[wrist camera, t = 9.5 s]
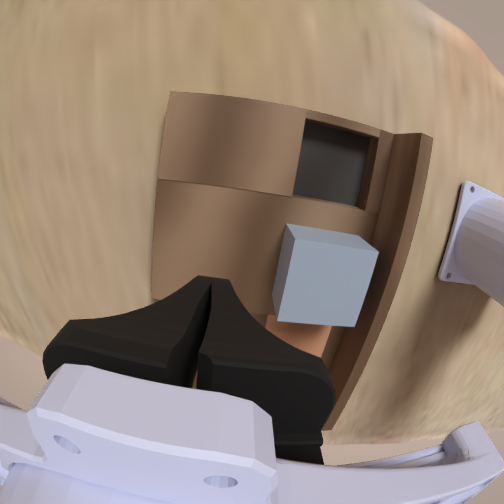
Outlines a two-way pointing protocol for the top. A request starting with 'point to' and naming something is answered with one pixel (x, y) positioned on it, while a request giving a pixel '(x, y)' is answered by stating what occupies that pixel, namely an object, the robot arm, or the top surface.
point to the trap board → (284, 209)
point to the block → (322, 276)
